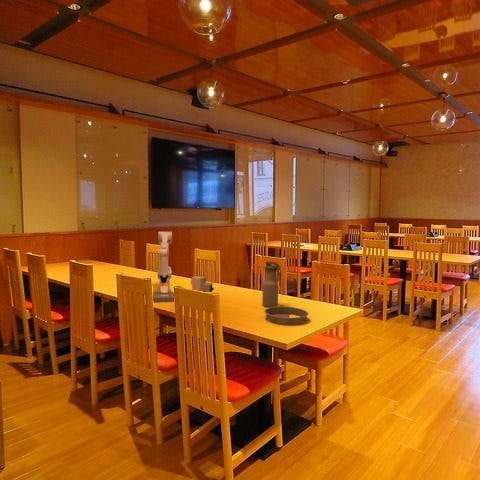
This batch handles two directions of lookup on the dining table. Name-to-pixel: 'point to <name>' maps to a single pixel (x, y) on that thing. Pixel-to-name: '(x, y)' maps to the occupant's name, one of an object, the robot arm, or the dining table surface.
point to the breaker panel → (163, 296)
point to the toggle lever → (164, 288)
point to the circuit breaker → (201, 284)
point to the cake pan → (285, 315)
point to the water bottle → (271, 285)
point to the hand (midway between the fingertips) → (163, 286)
